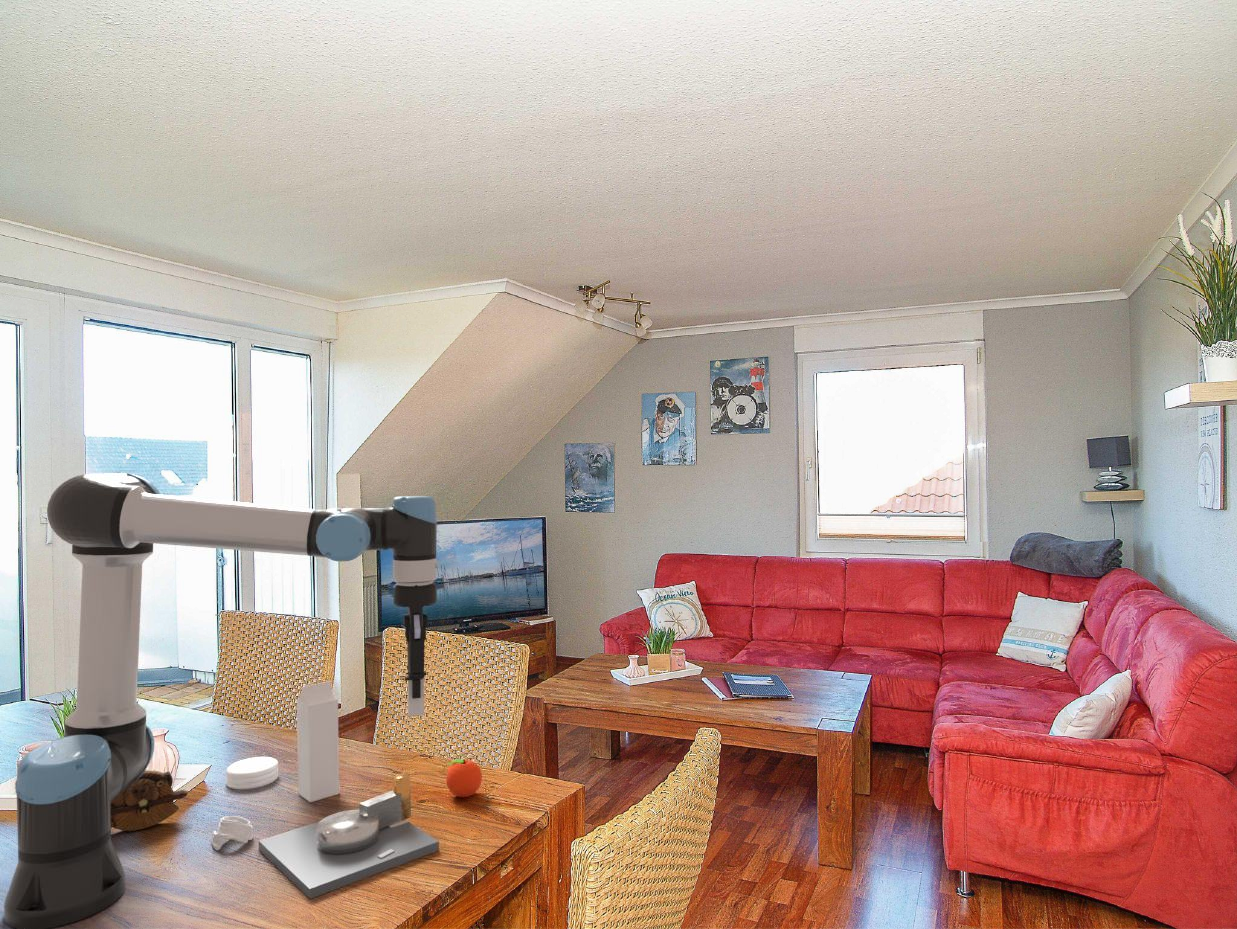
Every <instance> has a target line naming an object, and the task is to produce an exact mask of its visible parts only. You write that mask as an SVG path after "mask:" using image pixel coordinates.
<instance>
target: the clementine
mask: <svg viewBox="0 0 1237 929" xmlns="http://www.w3.org/2000/svg"><path fill="white" fill-rule="evenodd" d="M452 763H453V764H452ZM449 764H452V765H451V766H450V767H449V769H448V771H447V774H446V780H445V781H446V786H447V788H448V791H449V792H450V793H452V795H454V796H456V797H458V798H467V797H470V796H472V795H474V794H475V793H477V791H478V790H479V788H480V787H481V785H482V779H483V775H482V771H481V768H480V766H479V765H478V764H477V763H476V762H475V761H473V760H471V759H455V760H452V761H450V762H449V763H447V764H446V765H445V766H444V769H443V772H444V771H445V769H446V767H447V766H448V765H449Z"/></svg>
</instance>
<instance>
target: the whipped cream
mask: <svg viewBox="0 0 1237 929" xmlns="http://www.w3.org/2000/svg"><path fill="white" fill-rule="evenodd" d="M253 835H254V826H253V825H252V824H251V821H250V820H249V819H247V818H245V817H242V816H239V815H238V816H236V815H235V816H234V815H226V816H223V817H221V818H220V820H219V823H218V828H217V831H216V830H214V831H213V833H212V837H211V838H212V839H211V846H212V848H213V849H214V850H215V851H221V849H222V846H223V845H224V844H225V843H228V842H229V841H231V840H233V841H237V842H240V843H244V844H248V842H249V841H252V840H253V838H254V837H253Z"/></svg>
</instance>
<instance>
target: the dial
mask: <svg viewBox="0 0 1237 929" xmlns="http://www.w3.org/2000/svg"><path fill="white" fill-rule="evenodd" d="M411 798H412V797H411V775H410V774H408V773H399V774H398V773H397V774H395V775H394V776H393V777H392V790H390V791H387V792H385V793H382V794H380V795H377V796H375V797H372V798H370V799H367V800H364V801H362V802H359V803H358V809H359V810H358V809H349V810H343V811H338V812H336V813H333V814H330V815H327V816H326V817H324V818H322V819H321V820H320V821H318V822H319V823H318V824H317V847H318V849H319V850H321V851H322V852H325V853H330V854H345V853H351V852H356V851H359V850H362V849H365V848H367V847H369V846H371V845H372V844H374V843H375V842H376V841H377V840H378V838H379V830H380V829H382V828H385V827H387V826H389V825H392V824H394V823H397V822H399V821H401V820H407V819H409V818H411V817H412V812H411V811H412V808H411V806H412V804H411V800H412V799H411Z"/></svg>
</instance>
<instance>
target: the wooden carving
mask: <svg viewBox="0 0 1237 929" xmlns="http://www.w3.org/2000/svg"><path fill="white" fill-rule="evenodd" d="M173 783H174V779H173V775H172V774H171V772H170V771H169V770H168V771H166V772H162V771H157V770H150V769H148V770H147V769H146V770H145V771H144V773H143V774H142V775H141V777H140V778H139V779H138V780H137V781H135V783H134V784H132V785H131V786H130V787H128V788H127V789H126V790H125V791H124V792H123V793H122V794H121V795H119V796H118V797H117V798H116V799H115V800H114V801H113V802H112V803H111V829H112V828H114V829H115V830H119V831H125V832H126V831H127V832H128V831H129V832H130V831H131V832H132V831H133V832H134V831H139V830H144V829H146V828H147V829H148V828H150V827H153V826H155V825H157V824H160V823H162V822H164V821H165V820H167V819H169V818H170V817H171V816H172V815H174V814H175V813H177V812H178V811H179V810H180V809H179V808H180V805H179V804H176V803H175V802H174V801H176V800H180V799H184V798H186V797H187V796H188V794H189V791H188V790H185V789H181V790H175V791H174V789H173V788H172V786H173Z"/></svg>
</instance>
